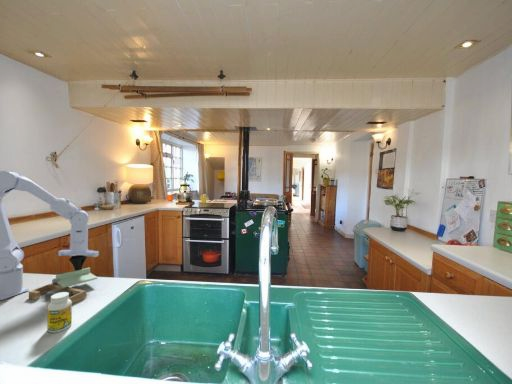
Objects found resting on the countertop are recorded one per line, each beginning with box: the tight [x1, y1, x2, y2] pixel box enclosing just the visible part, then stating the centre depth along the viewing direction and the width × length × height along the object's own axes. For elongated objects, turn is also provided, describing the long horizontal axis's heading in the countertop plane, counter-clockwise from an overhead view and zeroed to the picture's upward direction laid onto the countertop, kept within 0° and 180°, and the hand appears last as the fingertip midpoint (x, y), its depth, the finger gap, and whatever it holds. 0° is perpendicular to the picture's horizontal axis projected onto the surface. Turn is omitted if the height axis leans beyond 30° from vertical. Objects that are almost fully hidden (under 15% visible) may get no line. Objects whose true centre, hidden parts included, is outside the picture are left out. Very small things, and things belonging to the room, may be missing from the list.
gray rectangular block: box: [45, 290, 72, 300], centre depth 83 cm, size 8×2×2 cm, turn 90°
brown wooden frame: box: [28, 282, 87, 305], centre depth 83 cm, size 17×8×3 cm, turn 75°
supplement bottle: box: [46, 292, 73, 334], centre depth 67 cm, size 5×5×10 cm
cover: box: [51, 267, 98, 288], centre depth 90 cm, size 12×9×3 cm
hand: (78, 273), depth 95 cm, fingers closed, pressing on cover
